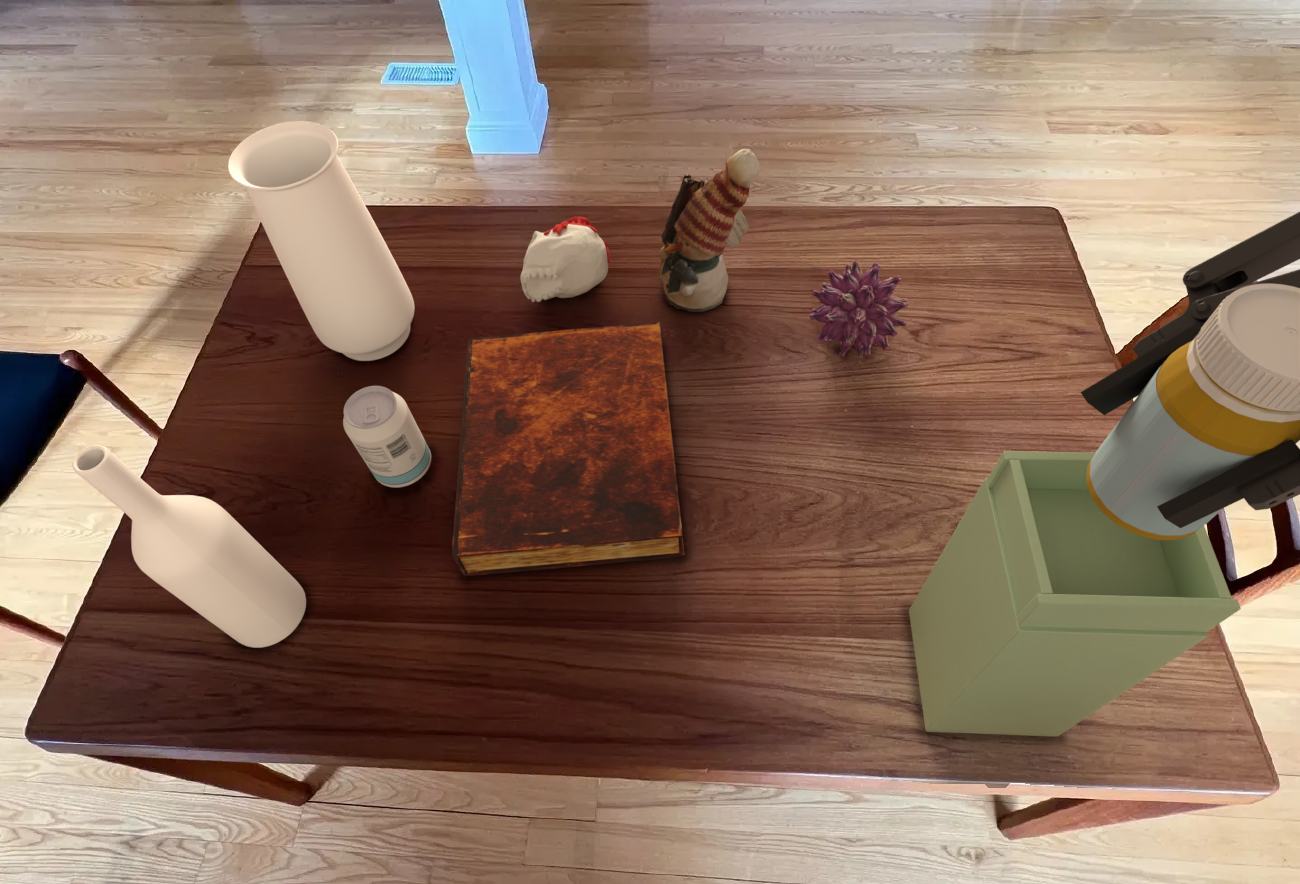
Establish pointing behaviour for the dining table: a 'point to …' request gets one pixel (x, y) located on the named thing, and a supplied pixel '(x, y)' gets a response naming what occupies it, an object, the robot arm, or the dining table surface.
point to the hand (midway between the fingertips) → (1129, 457)
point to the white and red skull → (564, 261)
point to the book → (565, 452)
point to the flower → (858, 309)
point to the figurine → (705, 234)
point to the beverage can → (386, 436)
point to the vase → (325, 239)
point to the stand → (1052, 604)
